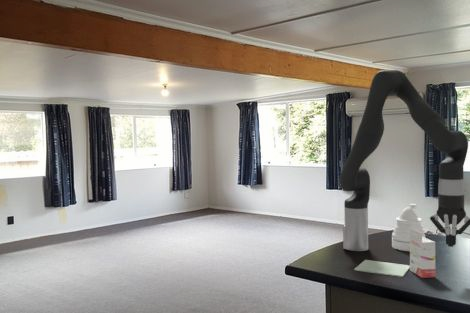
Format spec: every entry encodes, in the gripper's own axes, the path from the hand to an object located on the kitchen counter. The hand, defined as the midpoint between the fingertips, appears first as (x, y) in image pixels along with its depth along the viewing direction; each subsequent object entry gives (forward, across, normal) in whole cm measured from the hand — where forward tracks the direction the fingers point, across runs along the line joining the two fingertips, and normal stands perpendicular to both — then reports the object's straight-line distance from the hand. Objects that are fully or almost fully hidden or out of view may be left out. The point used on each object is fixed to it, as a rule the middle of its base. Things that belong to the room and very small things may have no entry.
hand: (451, 246), depth 143 cm
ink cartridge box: (+11, -9, 0) cm, 14 cm away
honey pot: (+11, -19, +34) cm, 41 cm away
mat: (+10, -22, 0) cm, 24 cm away
